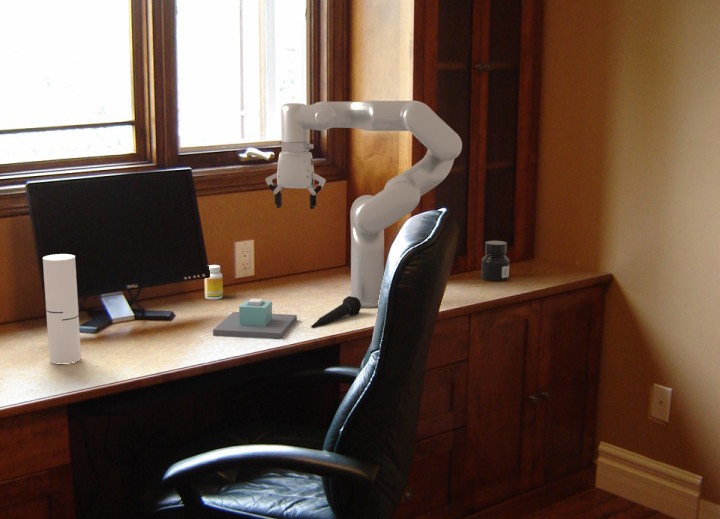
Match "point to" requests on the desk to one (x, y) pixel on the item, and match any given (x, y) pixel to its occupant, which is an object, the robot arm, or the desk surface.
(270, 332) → the post board
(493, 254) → the ink bottle
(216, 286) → the supplement bottle
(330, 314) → the microphone
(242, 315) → the teal hollow cube
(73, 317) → the cylindrical container
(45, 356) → the desk surface
